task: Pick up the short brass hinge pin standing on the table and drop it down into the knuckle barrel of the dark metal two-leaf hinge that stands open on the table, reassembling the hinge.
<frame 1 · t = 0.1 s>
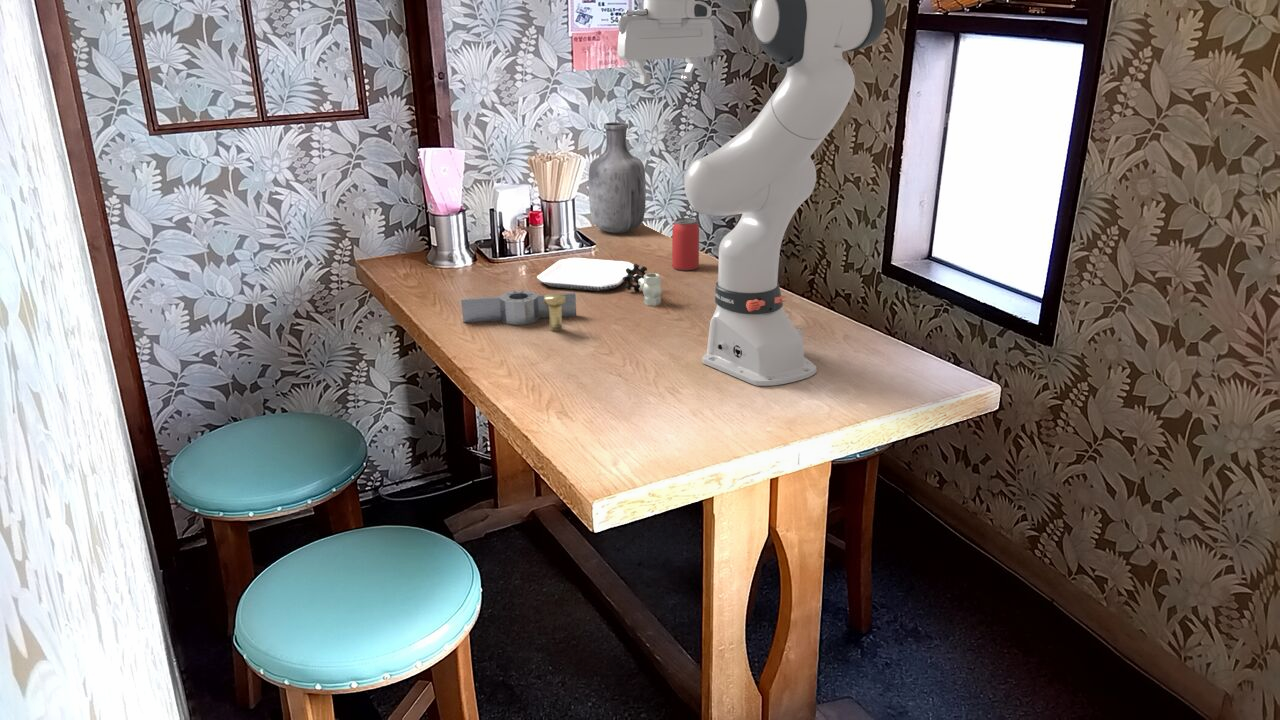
hand: (666, 82, 190), 48 cm above the table, fingers open, 8 cm apart
vase: (618, 231, 272), on the table
hinge pin: (556, 329, 197), on the table
plate: (587, 280, 230), on the table
beer can: (685, 268, 237), on the table
valve: (645, 299, 216), on the table
hinge: (520, 318, 203), on the table
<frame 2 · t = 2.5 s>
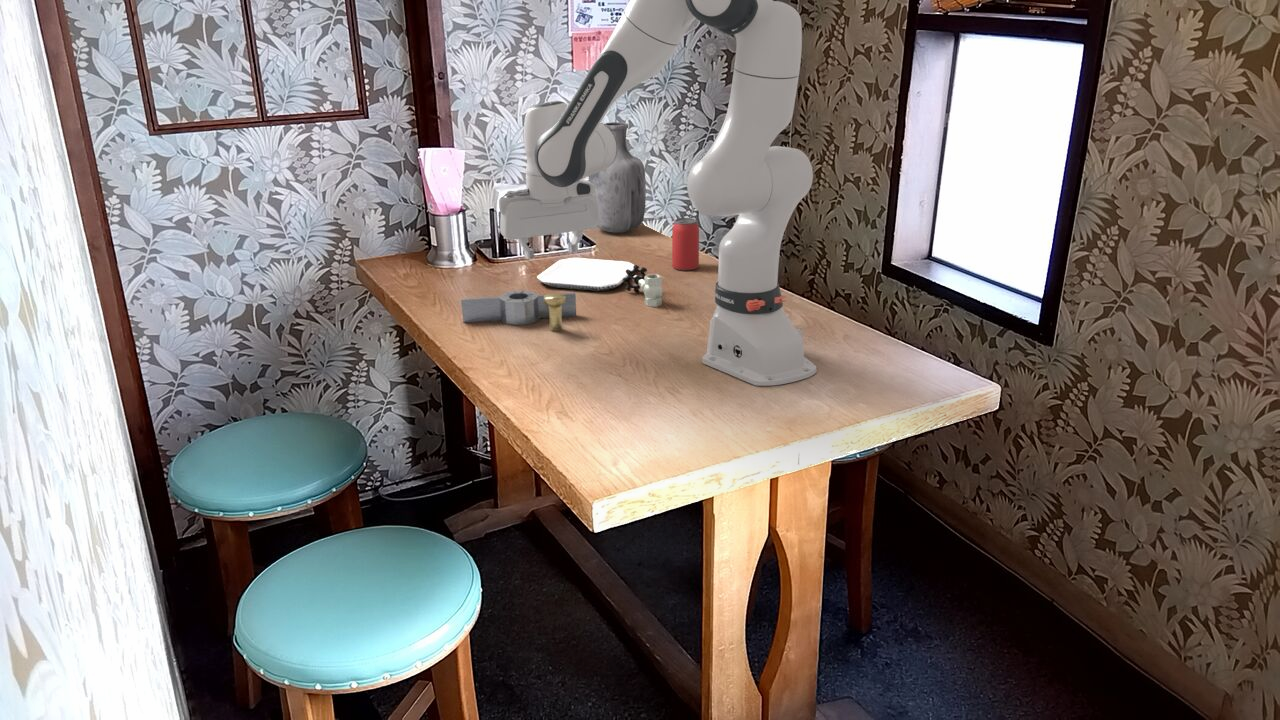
hand: (551, 255, 191), 16 cm above the table, fingers open, 8 cm apart
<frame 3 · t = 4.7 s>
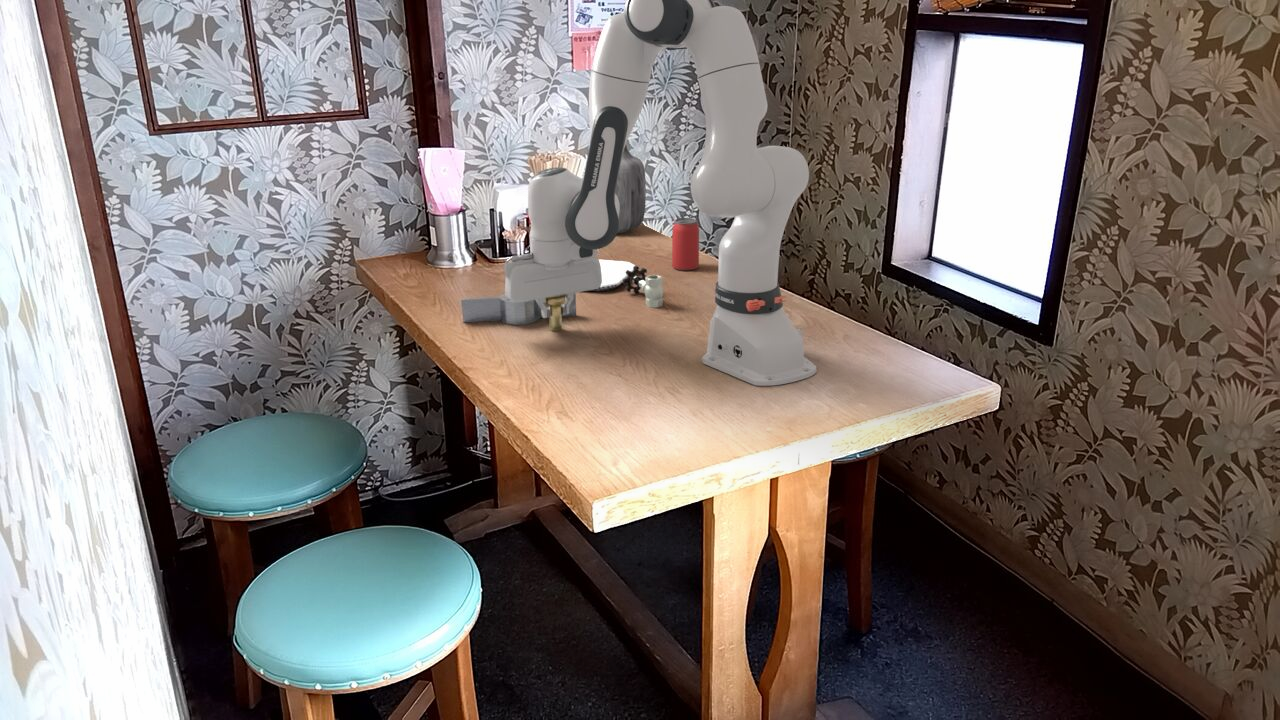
hand: (555, 315, 196), 3 cm above the table, fingers closed on hinge pin, 3 cm apart
hinge pin: (556, 329, 197), on the table, touching gripper
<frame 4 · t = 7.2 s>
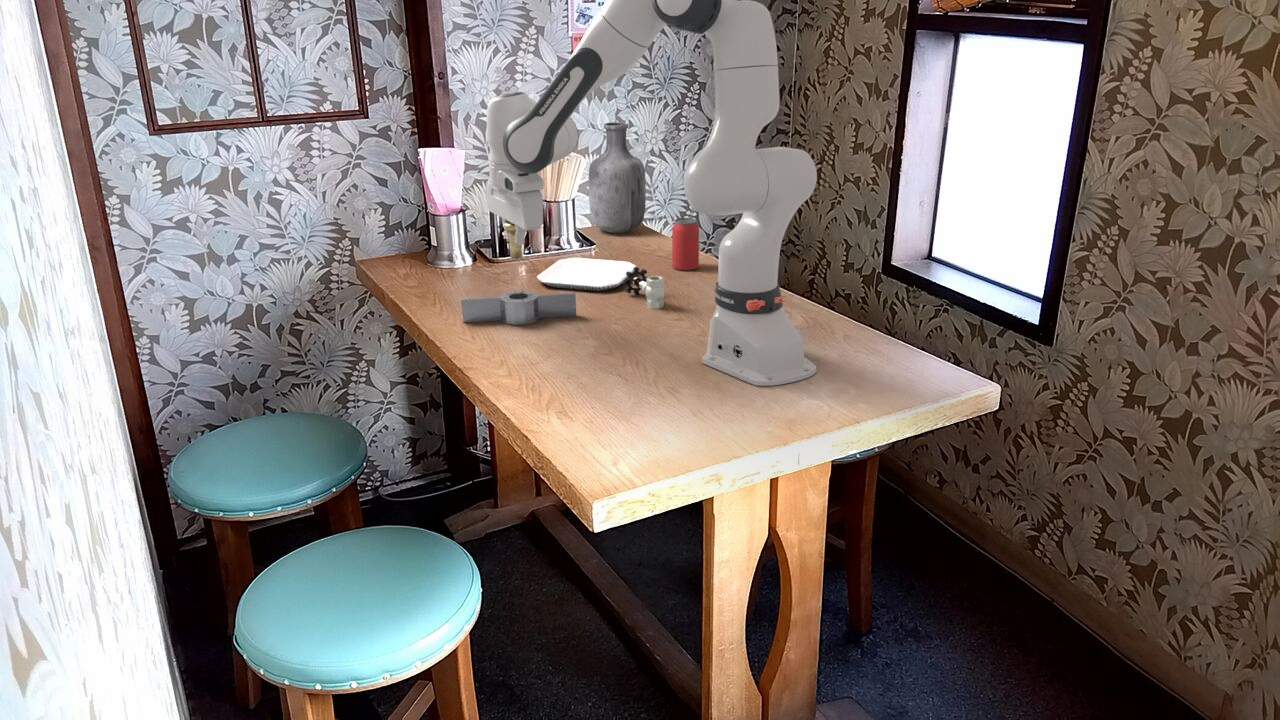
hand: (515, 241, 197), 17 cm above the table, fingers closed on hinge pin, 3 cm apart
hinge pin: (516, 256, 199), point 14 cm above the table, touching gripper
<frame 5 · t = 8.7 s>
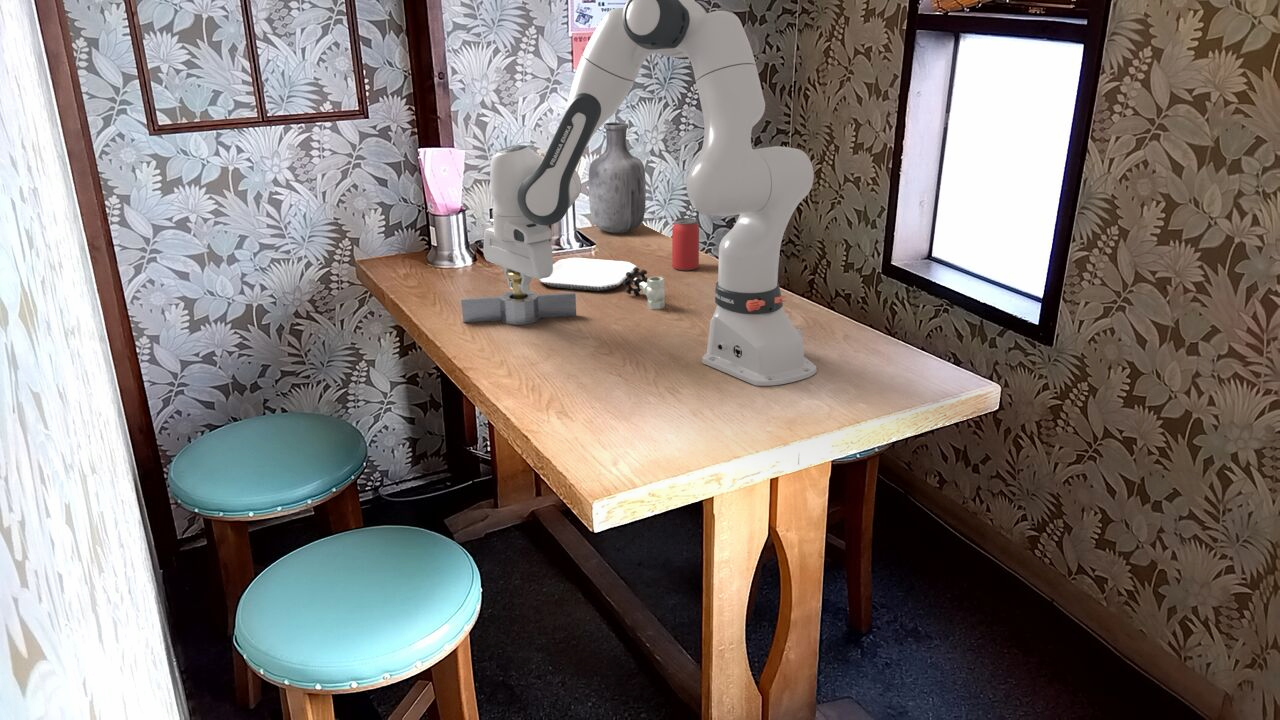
hand: (518, 289, 201), 6 cm above the table, fingers closed on hinge pin, 3 cm apart
hinge pin: (519, 304, 202), point 3 cm above the table, touching gripper
when the fingers open (6 cm above the table, at t = 9.8 s): hinge pin drops 2 cm, resting in hinge.
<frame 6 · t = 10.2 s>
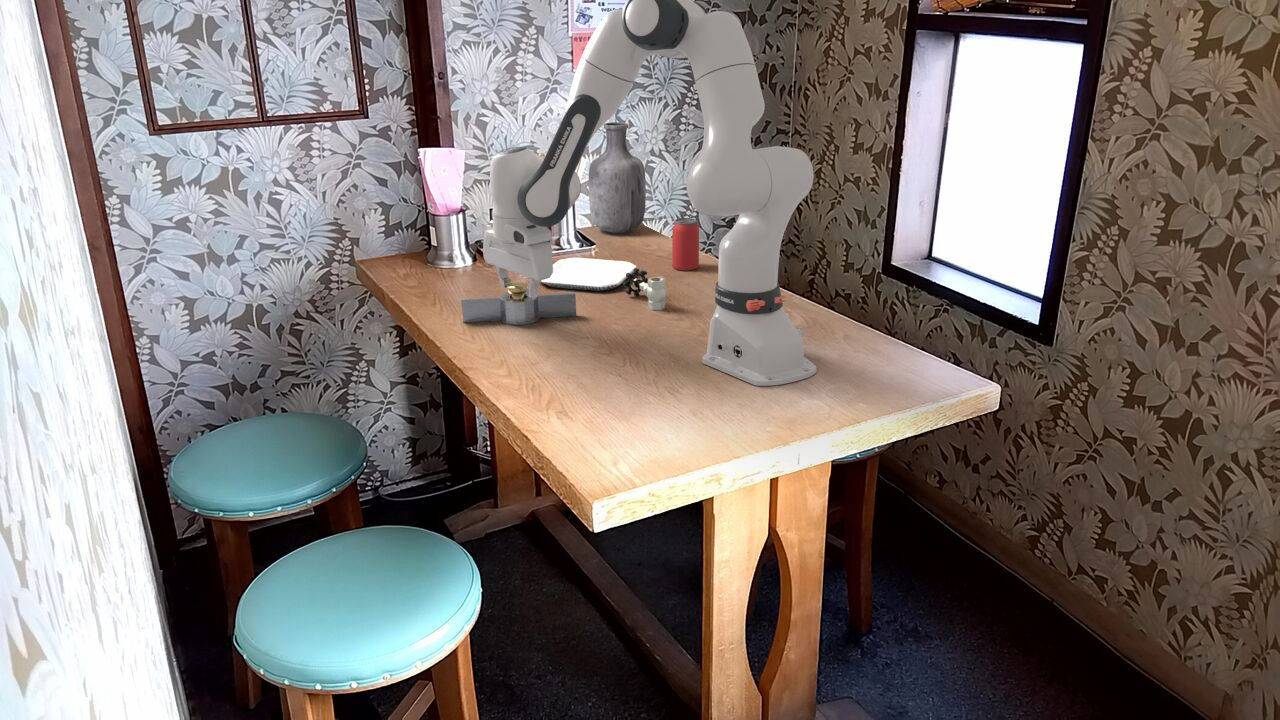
hand: (518, 291, 201), 6 cm above the table, fingers open, 8 cm apart
hinge pin: (519, 317, 204), resting in hinge
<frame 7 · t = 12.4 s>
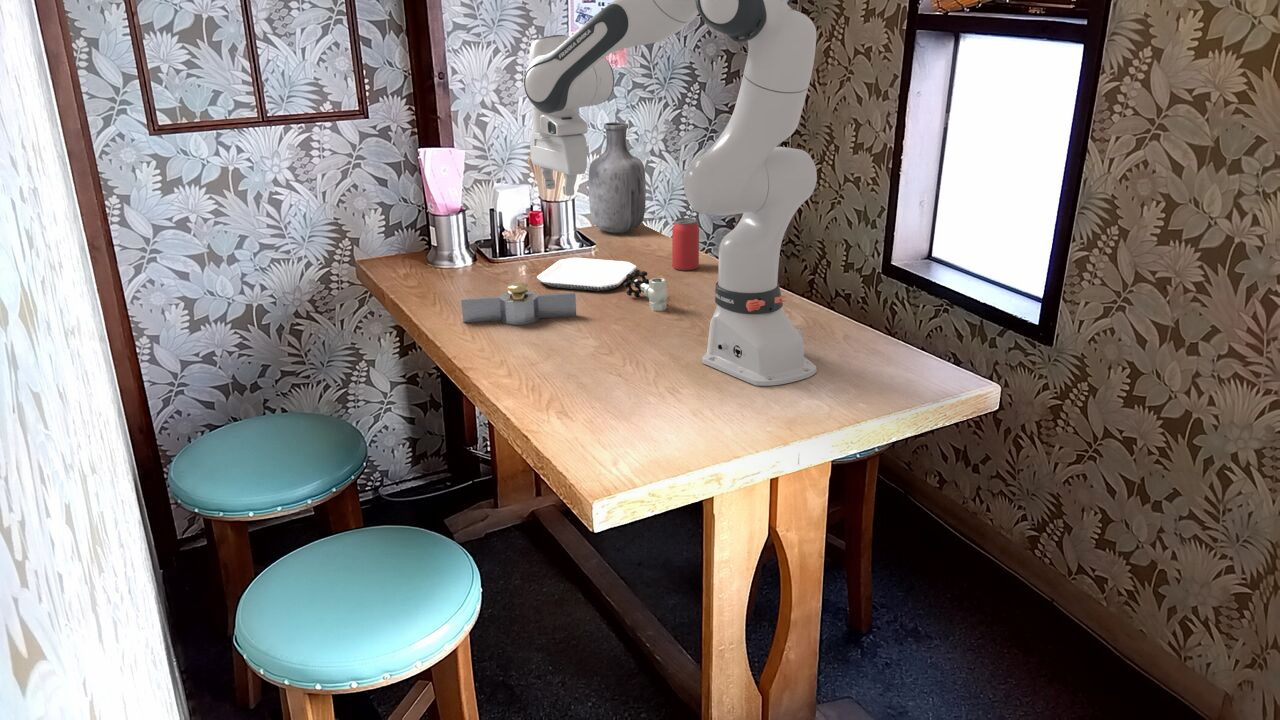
hand: (559, 191, 193), 27 cm above the table, fingers open, 8 cm apart
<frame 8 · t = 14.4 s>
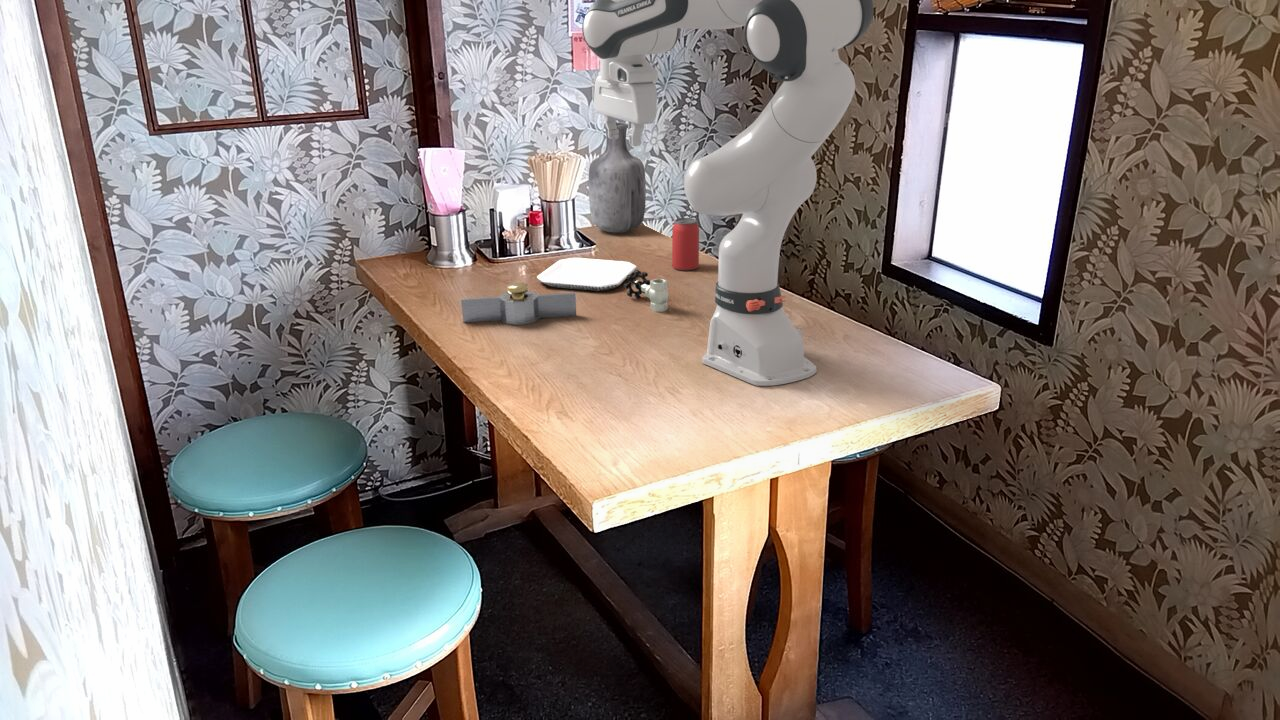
hand: (624, 141, 189), 37 cm above the table, fingers open, 8 cm apart
at the end: hinge pin 0.6 cm off-centre on the hinge, point 0.0 cm above the hinge's base; hinge pin tilted 0°; the gripper is holding nothing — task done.
